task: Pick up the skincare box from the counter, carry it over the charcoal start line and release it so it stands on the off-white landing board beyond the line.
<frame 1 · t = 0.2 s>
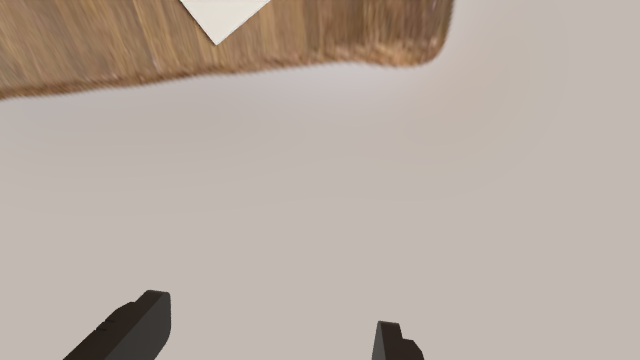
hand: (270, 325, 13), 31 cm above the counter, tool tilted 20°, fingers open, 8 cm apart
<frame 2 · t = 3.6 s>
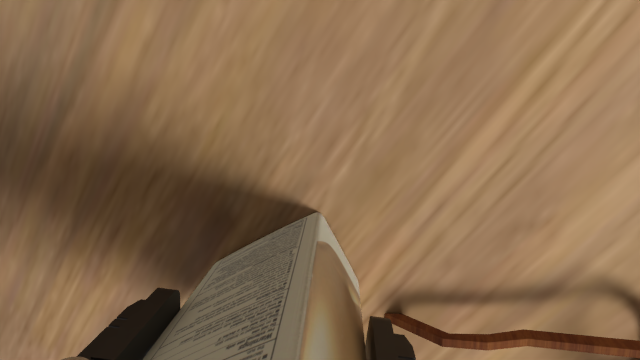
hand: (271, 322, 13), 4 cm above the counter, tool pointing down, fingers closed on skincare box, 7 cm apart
skincare box: (289, 267, 17), on the counter, touching gripper
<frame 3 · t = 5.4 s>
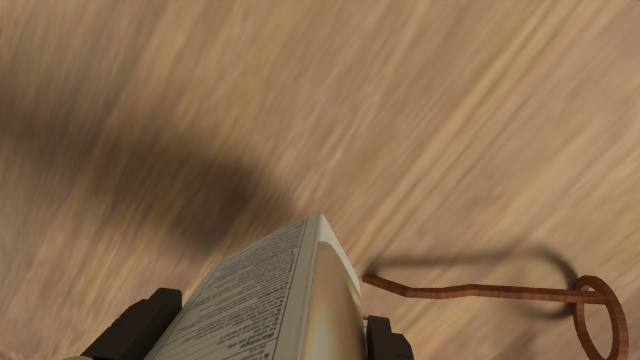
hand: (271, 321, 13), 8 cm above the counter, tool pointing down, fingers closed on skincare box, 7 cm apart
glasses: (464, 350, 22), on the counter
skincare box: (290, 267, 17), point 3 cm above the counter, touching gripper
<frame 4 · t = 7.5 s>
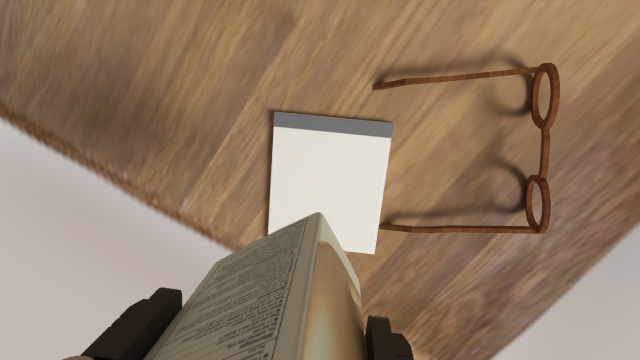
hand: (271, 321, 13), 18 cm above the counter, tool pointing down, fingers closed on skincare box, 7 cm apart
glasses: (450, 152, 29), on the counter
landing board: (327, 184, 30), on the counter
skincare box: (290, 267, 17), point 14 cm above the counter, touching gripper
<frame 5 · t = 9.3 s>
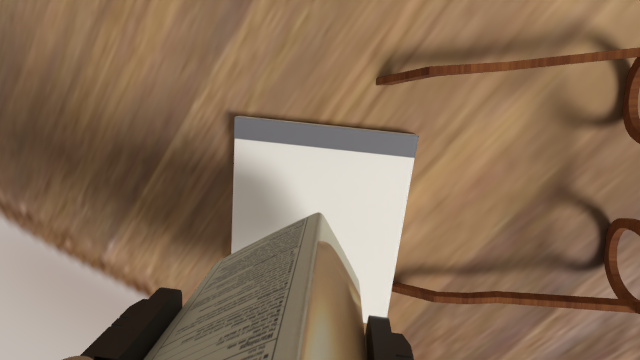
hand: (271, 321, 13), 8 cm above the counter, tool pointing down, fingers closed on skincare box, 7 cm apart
glasses: (492, 179, 19), on the counter
landing board: (316, 224, 20), on the counter
skincare box: (290, 267, 17), point 4 cm above the counter, touching gripper
when the fingers open (6 cm above the counter, at t = 10.9 s): skincare box drops 1 cm, resting on landing board.
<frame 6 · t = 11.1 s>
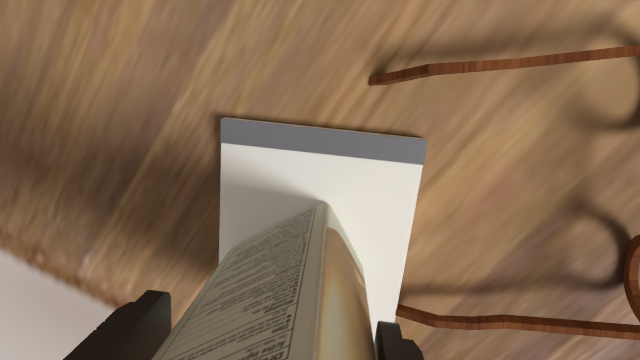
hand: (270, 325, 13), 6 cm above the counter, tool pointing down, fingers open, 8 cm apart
glasses: (499, 189, 17), on the counter, touching landing board
landing board: (312, 237, 18), on the counter
skincare box: (299, 254, 18), resting on landing board, touching gripper
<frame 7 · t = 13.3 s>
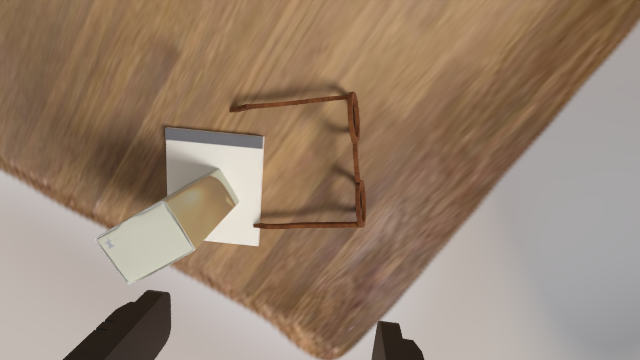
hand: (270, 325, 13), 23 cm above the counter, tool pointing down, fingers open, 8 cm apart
glasses: (300, 162, 35), on the counter
landing board: (215, 187, 36), on the counter
skincare box: (208, 196, 35), resting on landing board
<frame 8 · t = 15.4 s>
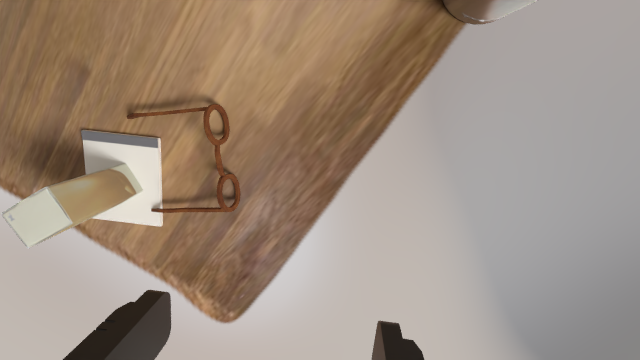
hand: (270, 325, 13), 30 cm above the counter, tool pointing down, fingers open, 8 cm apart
glasses: (187, 159, 43), on the counter, touching landing board
landing board: (125, 178, 44), on the counter
skincare box: (119, 185, 44), resting on landing board
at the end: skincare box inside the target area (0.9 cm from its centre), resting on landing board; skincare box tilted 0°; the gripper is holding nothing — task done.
